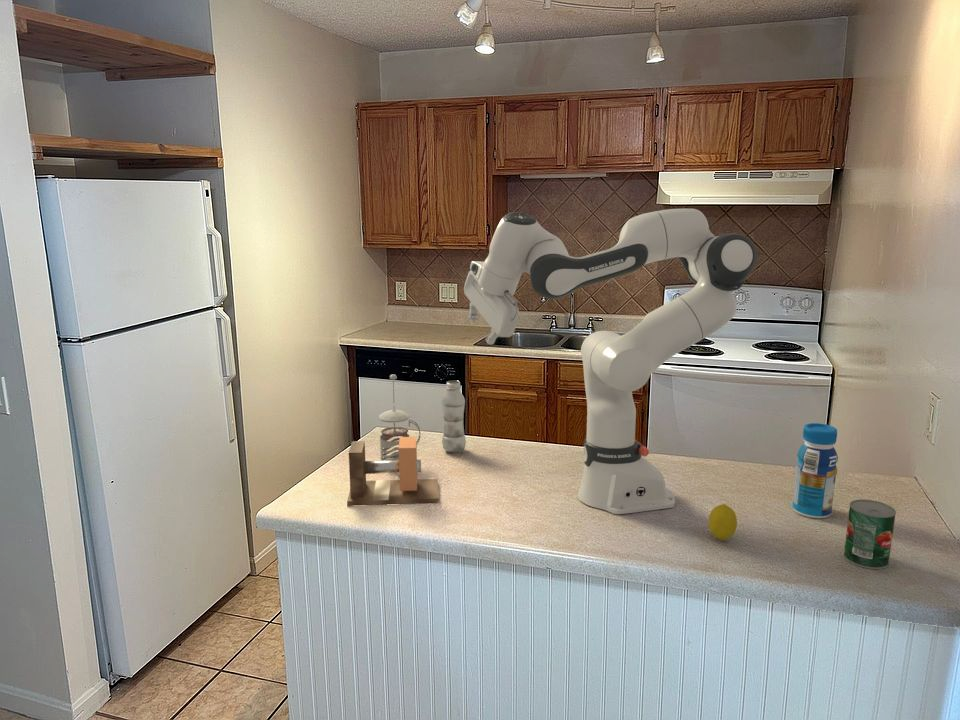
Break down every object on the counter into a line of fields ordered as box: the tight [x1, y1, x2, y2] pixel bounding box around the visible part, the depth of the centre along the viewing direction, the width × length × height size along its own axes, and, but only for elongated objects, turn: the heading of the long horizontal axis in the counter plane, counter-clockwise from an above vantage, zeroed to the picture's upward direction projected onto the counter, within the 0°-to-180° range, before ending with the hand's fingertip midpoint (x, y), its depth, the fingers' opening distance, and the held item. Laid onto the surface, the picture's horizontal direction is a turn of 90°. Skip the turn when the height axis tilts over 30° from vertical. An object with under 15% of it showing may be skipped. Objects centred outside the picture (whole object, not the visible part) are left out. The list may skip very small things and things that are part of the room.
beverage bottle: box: [791, 422, 839, 519], centre depth 159 cm, size 8×8×20 cm
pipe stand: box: [346, 440, 440, 507], centre depth 169 cm, size 21×12×12 cm, turn 94°
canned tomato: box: [843, 498, 897, 570], centre depth 139 cm, size 8×8×11 cm
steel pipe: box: [364, 459, 422, 475], centre depth 169 cm, size 15×3×3 cm, turn 94°
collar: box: [398, 436, 418, 491], centre depth 169 cm, size 4×8×10 cm, turn 4°
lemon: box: [708, 503, 738, 541], centre depth 147 cm, size 6×6×8 cm
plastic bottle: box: [441, 380, 467, 453], centre depth 198 cm, size 6×7×20 cm
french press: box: [378, 374, 421, 461], centre depth 187 cm, size 10×12×25 cm
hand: (480, 331), depth 169 cm, fingers open, 8 cm apart
